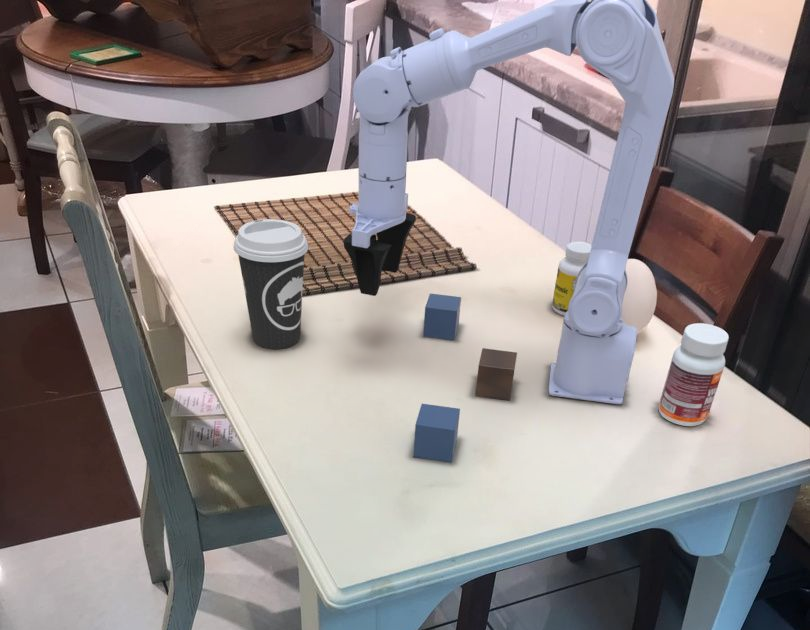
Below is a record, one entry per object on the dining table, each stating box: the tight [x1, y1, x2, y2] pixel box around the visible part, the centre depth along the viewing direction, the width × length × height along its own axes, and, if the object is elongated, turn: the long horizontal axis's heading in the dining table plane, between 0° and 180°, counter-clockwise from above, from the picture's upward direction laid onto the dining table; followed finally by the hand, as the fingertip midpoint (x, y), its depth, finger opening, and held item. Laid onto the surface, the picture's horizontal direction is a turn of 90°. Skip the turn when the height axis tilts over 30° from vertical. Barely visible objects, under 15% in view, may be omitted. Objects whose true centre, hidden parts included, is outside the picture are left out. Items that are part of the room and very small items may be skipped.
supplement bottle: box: [551, 241, 592, 316], centre depth 124 cm, size 5×5×10 cm
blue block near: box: [412, 403, 461, 463], centre depth 96 cm, size 4×4×4 cm
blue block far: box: [422, 293, 462, 341], centre depth 118 cm, size 4×4×4 cm
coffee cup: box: [233, 218, 309, 350], centre depth 111 cm, size 10×10×15 cm
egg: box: [621, 258, 658, 335], centre depth 117 cm, size 9×9×12 cm
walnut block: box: [474, 347, 518, 401], centre depth 107 cm, size 4×4×4 cm
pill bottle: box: [658, 322, 730, 427], centre depth 102 cm, size 6×6×11 cm
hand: (379, 281), depth 109 cm, fingers open, 7 cm apart
